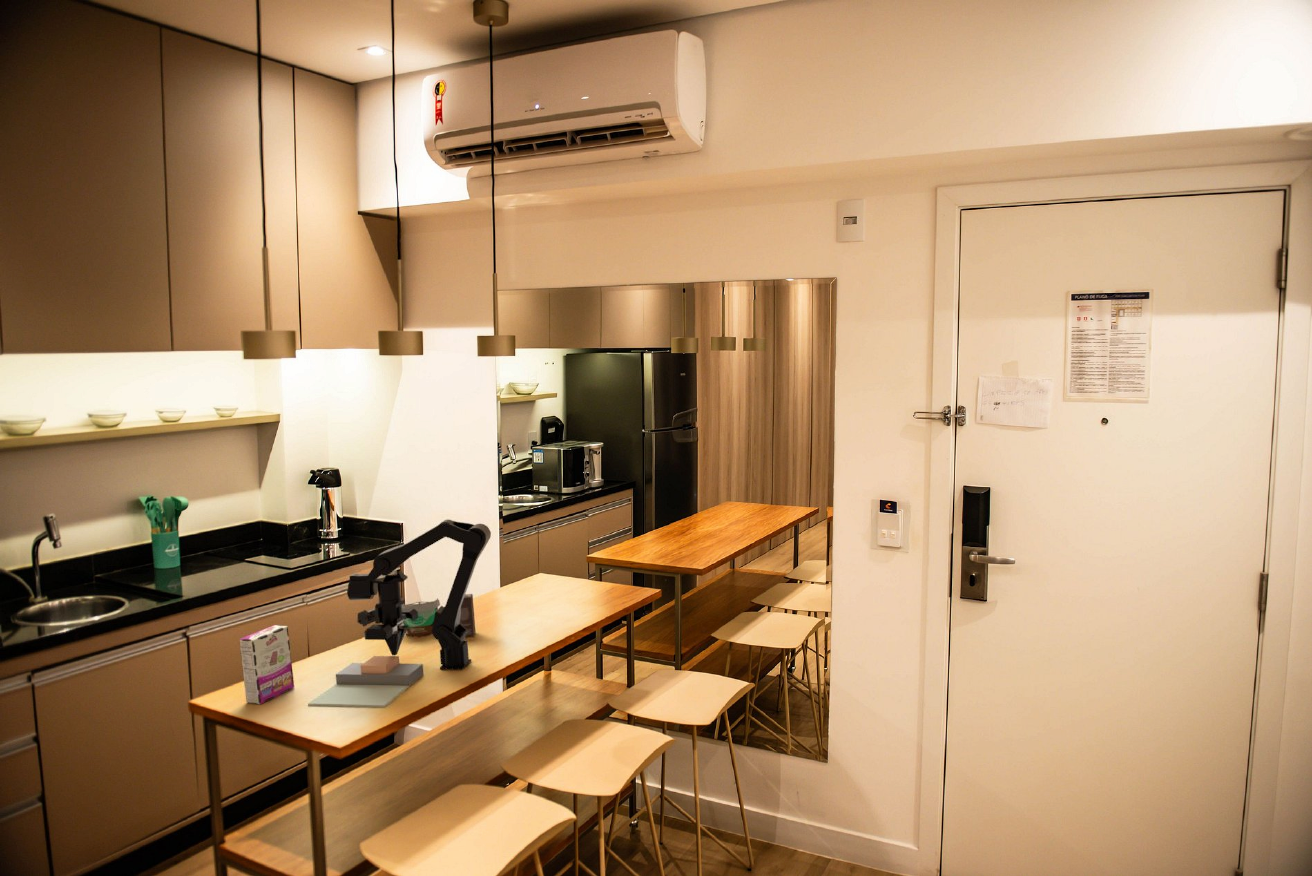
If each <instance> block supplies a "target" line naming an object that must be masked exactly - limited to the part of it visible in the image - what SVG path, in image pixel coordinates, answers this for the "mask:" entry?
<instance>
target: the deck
mask: <svg viewBox="0 0 1312 876" xmlns="http://www.w3.org/2000/svg"><path fill="white" fill-rule="evenodd" d="M363 663H364V662H352V663H350V664H349V665H347V666H346V667H344V668H343V669H341V670H340V671H338V672H337V673H335V682H336V683H335V684H339V685H395V686H408V688H410V687H411V686H412V685H414V683H416V682H417V681H418V680H419V679H420V678H422V677H423V676H424V665H423V663H399V664H398V665H397V666H396V667H394V668H393V669H392V670H390V671H389V672H388V673H361V667H360V665H362V664H363Z"/></svg>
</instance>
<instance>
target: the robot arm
mask: <svg viewBox="0 0 1312 876" xmlns="http://www.w3.org/2000/svg"><path fill="white" fill-rule="evenodd" d="M491 534H492V531H491V530H490V527H488V525H486V524H483V523H476V524H473V523H469V522H461V521H456V520H452V519H444V520H443V521H441V522H440V523H439V524H437V525H436V526H434V527H433V528H431V529H429V530H426V531H425V532H424V533H422V534H420V535H418V536H417V537H415V538H413V539H411V540H410V541H408V542H405V543H404V544H401V545H397V546H394V547H391V548H388V549H387V550H384V551H383V552H381V553H379V554H378V555H377V556H375V557H374V559H373V563H372V566H373V567H372V568H371V569H370V571H369V573H364V574H363V573H362V574H359V573H351V574H350V575H349V582H348V585H347V589H346V594H347V598H348V600H350V601H358V600H359V601H360V600H364V601H365V600H373V599H374V597H375V596H376V595H378V596H377V597H378V602H377V603H376V604H375V606H374V608H372V609H369V610H366V609H364V610H363V611H362V610H361V611H359V612H357V618H356V619H357V620H356V621H357V623H358V624H359V625H362V627H363V628H364V627H367V625H370V624H372V623H374V622H375V623H374V624H372V625H371V626H369V627H367V628H366V629H365V630H364V631H363V632H364V633H363V634H364V635H363V636H364V640H365V641H367V640H368V641H369V640H370V641H374V640H377V641H378V640H379V641H385V642H386V645H387V647H388V650H389V651H390V654H391V656H398V653H399V650H400V647H401V644H402V642H403V639H404V637H405V636H406V634H405V633H406V630H407V628H408V625H404V623H403V621H404V620H405V619H407V618H410V619H411V620H412V621H415V620H416V619H418V612H417V611H416V610H415V609H402V604H403V605H404V604H405V603H406V601H405V598H402V592H401V591H402V590H401V583H403V582H405V581H406V580H408V575H406V574H404V573H403V572H402V571H401V570H400V571H398V572H397V573H396V574H392V573H393V572H394V571H396V570H397V569H398V568H399V567H401V565H403V564H404V563H405V562H406V561H407V560H409V558H411V557H412V556H414V555H416V554H418V553H420V552H421V551H423V550H425V549H427V548H428V547H429V548H430V546H433V544H435V543H438V542H439V541H441V540H442V539H445V538H448V539H451V540H452V541H455V542H457V543H461V544H462V554H461V555H462V556H461V559H460V560H461V561H460V562H459V566H458V568H457V571H456V574H455V578H454V579H453V583H452V586H451V589H450V591H449V595H448V597H447V600H446V603H445V606H443V605H440V606H439V607H438V610H437V611H436V612H435V616H434V621H433V623H432V624H431V625H430V626H433V628H432V634H431V635H432V636H433V638H434V639H435V640H436V641H438V643H439V646H440V649H439V653H440V654H439V658H440V664H441V666H440V667H439V670H464V669H465V668H466V667H467V666H468V665H469V664H470V663H471V662H472V659H469V658H470V656H469V646H468V644H469V643H468V640H465V639H466V638H467V637H468V636H467V633H468V630H467V629H466V628H465V627H463V626H462V625H461V624H460V617H461V605H462V602H463V599H464V596H465V594H466V593H467V590H468V588H469V584H470V581H471V579H472V576H473V573H474V571H475V568H476V565H477V561H478V559H479V558H480V556H481V555H482V554H483V551H484V550H485V548H486V546H487V544H488V543H489V541H490V539H491V537H492V535H491ZM381 576H384V577H381Z"/></svg>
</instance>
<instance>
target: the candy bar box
mask: <svg viewBox="0 0 1312 876" xmlns="http://www.w3.org/2000/svg"><path fill="white" fill-rule="evenodd" d="M238 643H239V649H240V658H241V665H242V674H243V683H244V692H245V702H246V703H247V702H249V703H248V704H252V703H256V704H255V705H262V704H264V703H266V702H268V701H270V700H272V699H275V698H277V697H279V696H280V695H282V694H284V693H287V692H288V691H290V690H292V689H294V688H295V680H294V673H293V662H292V656H291V655H292V653H291V643H290V635H289V628H288V625H279V624H274V625H271V626H269V627H266V628H264V629H261V630H259V631H256V632H254V633H252V634H249V635H246V636H243V637H241V638H239V641H238Z"/></svg>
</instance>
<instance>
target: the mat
mask: <svg viewBox="0 0 1312 876" xmlns="http://www.w3.org/2000/svg"><path fill="white" fill-rule="evenodd" d="M408 689H409V687H408V686H395V685H339V684H336V683H335V684H334V685H333V686H331V687H329V688H328V689H327V690H325V691H323V693H321V694H320V695H318V696H317V697H315V698H313V699H312V700H310V702H308V703H307V706H311V707H312V706H313V707H317V706H319V707H360V708H361V707H363V708H386V707H387V706H388V705H390V704H391V703H392V702H393V701H394V700H395V699H397V698H398V697H399V696H400V695H401V694H402V693H404V692H405V691H406V690H408Z"/></svg>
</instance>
